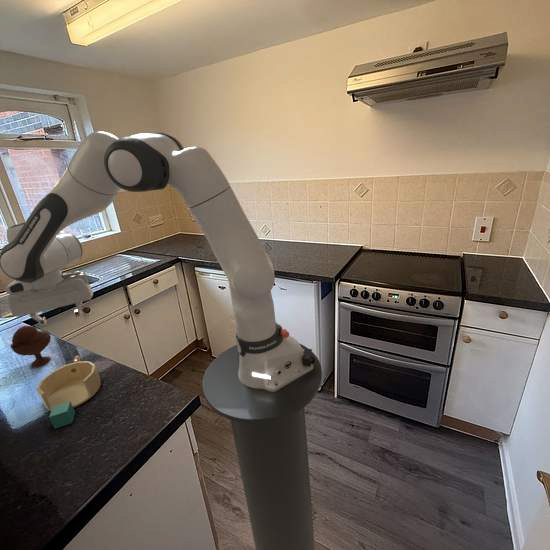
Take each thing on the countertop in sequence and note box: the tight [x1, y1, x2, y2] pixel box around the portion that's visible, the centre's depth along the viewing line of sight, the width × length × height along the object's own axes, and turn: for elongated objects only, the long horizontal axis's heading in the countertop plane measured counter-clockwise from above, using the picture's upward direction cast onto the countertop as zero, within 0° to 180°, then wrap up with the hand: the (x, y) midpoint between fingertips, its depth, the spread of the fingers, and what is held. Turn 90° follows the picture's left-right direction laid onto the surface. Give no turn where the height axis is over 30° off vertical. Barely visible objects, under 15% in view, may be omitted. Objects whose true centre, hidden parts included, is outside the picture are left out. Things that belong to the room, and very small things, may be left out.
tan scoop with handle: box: [36, 355, 101, 412], centre depth 90 cm, size 14×21×6 cm, turn 24°
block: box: [48, 401, 76, 429], centre depth 78 cm, size 4×4×4 cm
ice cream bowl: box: [10, 325, 52, 368], centre depth 102 cm, size 11×11×15 cm
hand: (61, 319), depth 91 cm, fingers open, 8 cm apart
